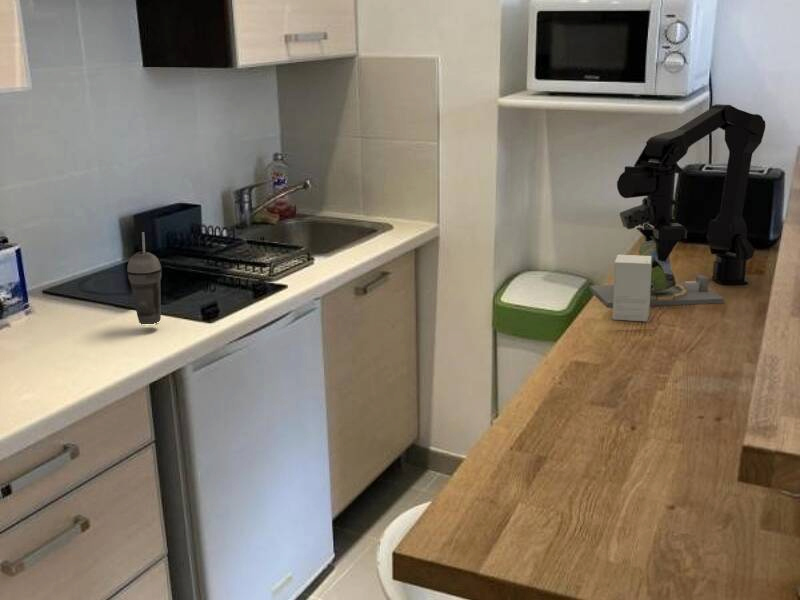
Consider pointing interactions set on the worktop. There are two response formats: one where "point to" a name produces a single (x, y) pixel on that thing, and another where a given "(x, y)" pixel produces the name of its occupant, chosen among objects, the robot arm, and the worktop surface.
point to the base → (691, 298)
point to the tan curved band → (686, 288)
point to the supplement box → (632, 287)
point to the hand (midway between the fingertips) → (656, 262)
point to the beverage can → (658, 269)
